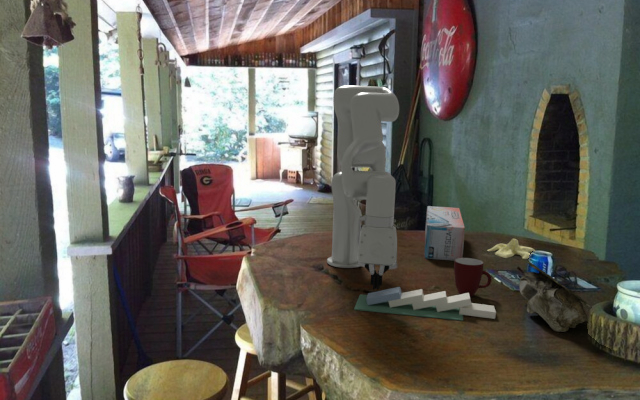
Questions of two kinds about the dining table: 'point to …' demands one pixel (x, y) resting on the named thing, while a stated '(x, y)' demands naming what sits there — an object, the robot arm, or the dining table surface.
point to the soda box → (444, 233)
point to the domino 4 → (455, 302)
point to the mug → (469, 275)
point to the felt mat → (407, 310)
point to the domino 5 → (478, 310)
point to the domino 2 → (408, 298)
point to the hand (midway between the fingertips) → (376, 287)
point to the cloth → (512, 250)
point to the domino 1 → (384, 296)
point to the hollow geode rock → (552, 300)
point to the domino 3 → (431, 300)
